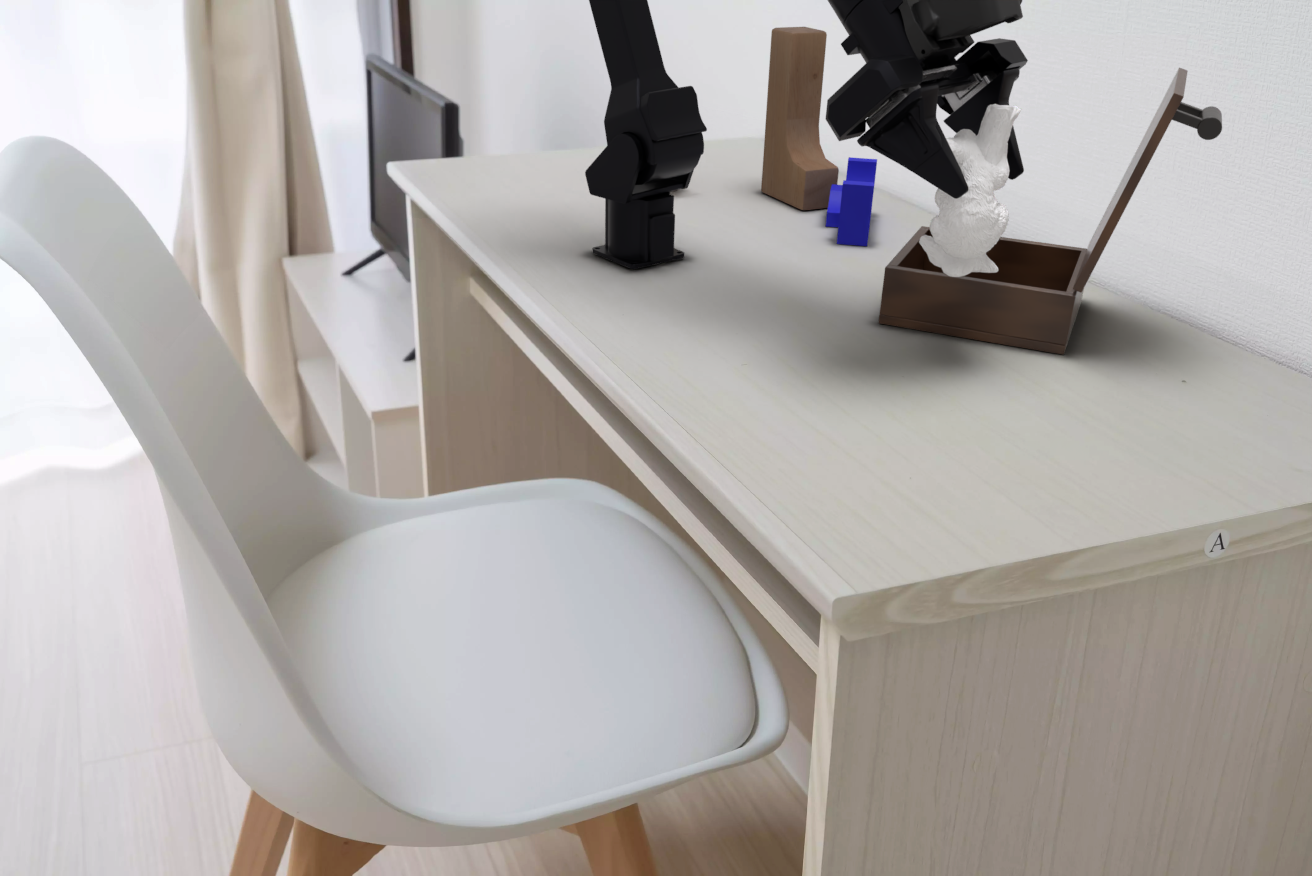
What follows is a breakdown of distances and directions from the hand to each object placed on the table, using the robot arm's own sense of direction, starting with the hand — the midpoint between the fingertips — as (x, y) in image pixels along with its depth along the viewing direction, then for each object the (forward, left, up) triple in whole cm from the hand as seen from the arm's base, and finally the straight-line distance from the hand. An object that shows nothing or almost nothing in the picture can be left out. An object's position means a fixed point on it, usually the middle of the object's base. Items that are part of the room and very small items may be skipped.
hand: (991, 185), depth 80 cm
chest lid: (+3, +14, -1) cm, 14 cm away
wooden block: (-40, +24, -13) cm, 49 cm away
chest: (-5, +10, -13) cm, 17 cm away
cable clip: (-29, +20, -13) cm, 38 cm away
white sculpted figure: (-2, 0, -7) cm, 7 cm away
